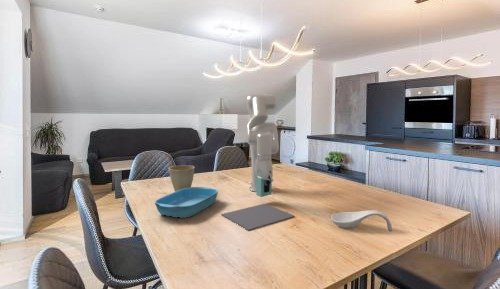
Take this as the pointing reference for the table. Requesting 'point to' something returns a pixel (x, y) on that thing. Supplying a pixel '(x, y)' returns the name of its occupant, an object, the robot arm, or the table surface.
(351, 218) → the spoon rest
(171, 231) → the table surface
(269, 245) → the table surface
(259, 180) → the teal rectangular block
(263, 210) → the mat
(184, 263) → the table surface
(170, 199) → the casserole dish
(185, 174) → the plant pot
